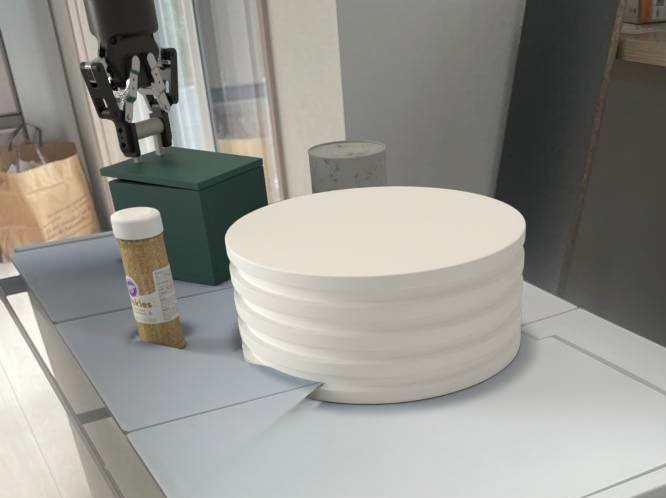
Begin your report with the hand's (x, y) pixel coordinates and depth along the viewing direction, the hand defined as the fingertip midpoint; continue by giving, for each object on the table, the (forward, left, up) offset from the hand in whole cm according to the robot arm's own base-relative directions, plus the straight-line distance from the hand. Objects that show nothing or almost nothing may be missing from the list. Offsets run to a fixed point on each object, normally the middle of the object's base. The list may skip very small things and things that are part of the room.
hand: (148, 150), depth 102 cm
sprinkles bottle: (+18, -23, -13) cm, 32 cm away
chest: (+5, 0, -13) cm, 14 cm away
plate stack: (+38, -13, -13) cm, 43 cm away
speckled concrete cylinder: (+21, +11, -13) cm, 27 cm away
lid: (+5, 0, -2) cm, 5 cm away
